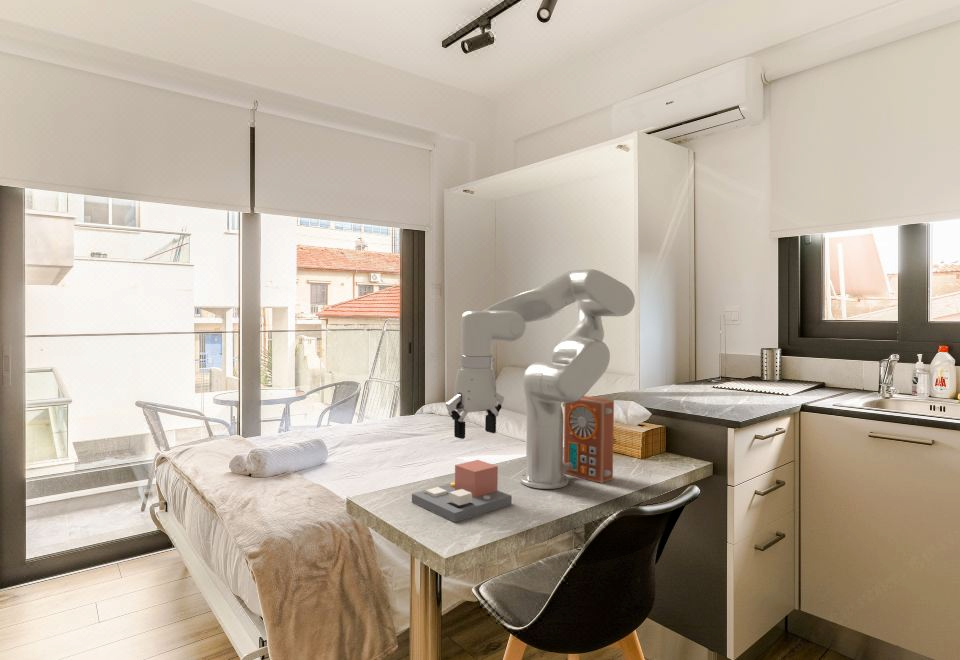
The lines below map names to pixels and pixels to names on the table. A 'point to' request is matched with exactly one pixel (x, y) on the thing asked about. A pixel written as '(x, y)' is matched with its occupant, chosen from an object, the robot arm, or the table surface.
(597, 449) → the control panel
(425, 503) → the board
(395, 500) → the table surface
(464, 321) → the robot arm
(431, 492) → the block
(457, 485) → the cap
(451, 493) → the block
